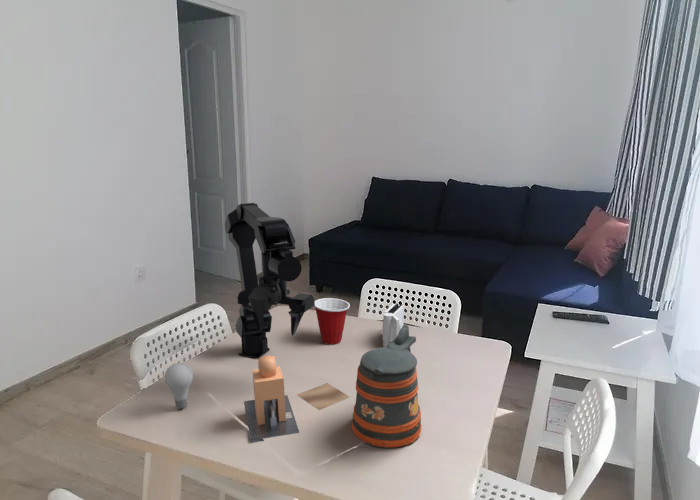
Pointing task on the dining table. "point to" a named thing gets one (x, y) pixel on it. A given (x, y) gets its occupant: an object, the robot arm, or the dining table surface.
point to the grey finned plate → (270, 421)
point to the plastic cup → (331, 318)
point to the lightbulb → (179, 382)
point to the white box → (392, 323)
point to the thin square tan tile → (323, 396)
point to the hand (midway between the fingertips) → (276, 332)
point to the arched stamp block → (268, 388)
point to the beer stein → (388, 395)
